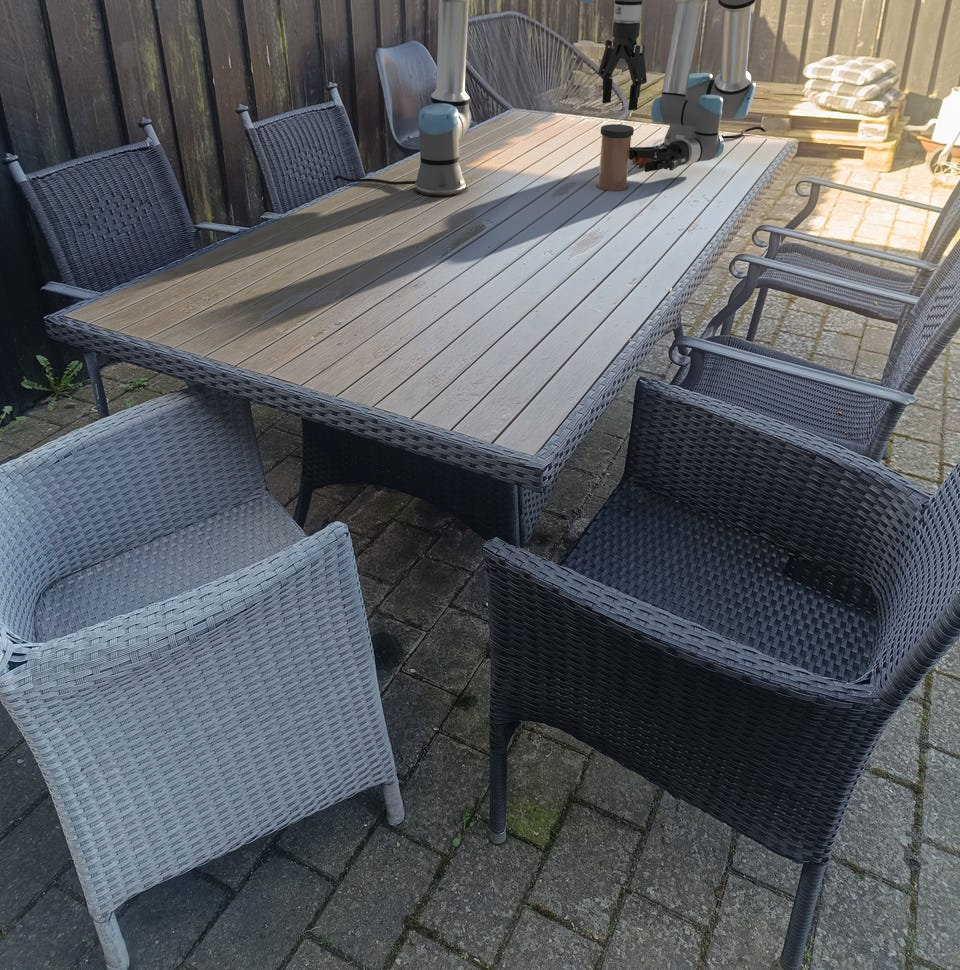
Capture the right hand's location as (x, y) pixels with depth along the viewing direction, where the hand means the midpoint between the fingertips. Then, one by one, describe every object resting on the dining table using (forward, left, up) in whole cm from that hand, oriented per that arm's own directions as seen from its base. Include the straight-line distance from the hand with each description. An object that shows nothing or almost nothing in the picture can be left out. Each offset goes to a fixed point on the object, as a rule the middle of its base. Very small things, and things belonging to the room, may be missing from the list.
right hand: (631, 162), depth 260 cm
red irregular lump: (-22, -5, -7) cm, 24 cm away
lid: (+6, -3, +10) cm, 12 cm away
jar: (+5, -3, -7) cm, 9 cm away
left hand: (+5, -3, +17) cm, 18 cm away
